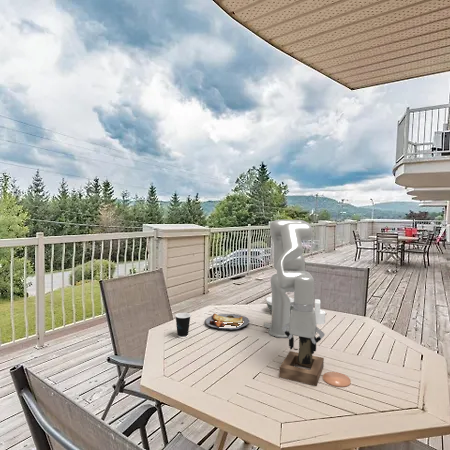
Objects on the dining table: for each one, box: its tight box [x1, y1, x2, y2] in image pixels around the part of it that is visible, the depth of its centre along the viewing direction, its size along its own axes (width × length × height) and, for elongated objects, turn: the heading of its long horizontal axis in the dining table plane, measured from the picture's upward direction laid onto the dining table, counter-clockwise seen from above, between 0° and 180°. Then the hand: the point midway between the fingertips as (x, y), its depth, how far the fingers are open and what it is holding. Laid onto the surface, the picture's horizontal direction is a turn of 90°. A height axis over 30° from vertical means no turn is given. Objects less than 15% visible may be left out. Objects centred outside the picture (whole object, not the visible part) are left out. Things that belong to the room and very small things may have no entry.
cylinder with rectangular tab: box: [313, 298, 326, 325], centre depth 186 cm, size 9×9×12 cm
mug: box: [292, 336, 313, 367], centre depth 127 cm, size 8×6×12 cm
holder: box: [278, 350, 325, 387], centre depth 127 cm, size 14×16×4 cm
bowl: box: [265, 295, 294, 312], centre depth 203 cm, size 19×19×8 cm
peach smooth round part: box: [322, 371, 351, 388], centre depth 121 cm, size 10×10×1 cm
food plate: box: [204, 313, 251, 330], centre depth 181 cm, size 25×23×4 cm
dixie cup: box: [174, 312, 192, 338], centre depth 162 cm, size 8×8×11 cm
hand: (302, 350), depth 127 cm, fingers closed on mug, 7 cm apart
